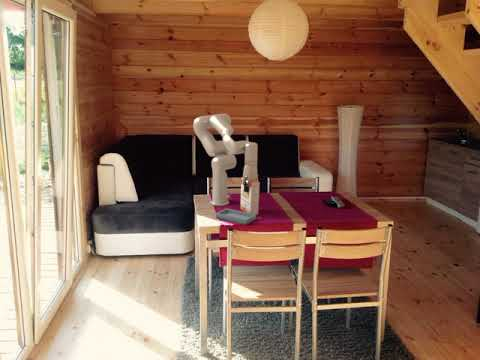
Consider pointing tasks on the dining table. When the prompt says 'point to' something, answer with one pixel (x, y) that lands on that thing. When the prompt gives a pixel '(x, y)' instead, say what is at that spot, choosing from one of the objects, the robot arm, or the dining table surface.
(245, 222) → the tray
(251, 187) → the cracker box
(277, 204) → the dining table surface
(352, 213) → the dining table surface
